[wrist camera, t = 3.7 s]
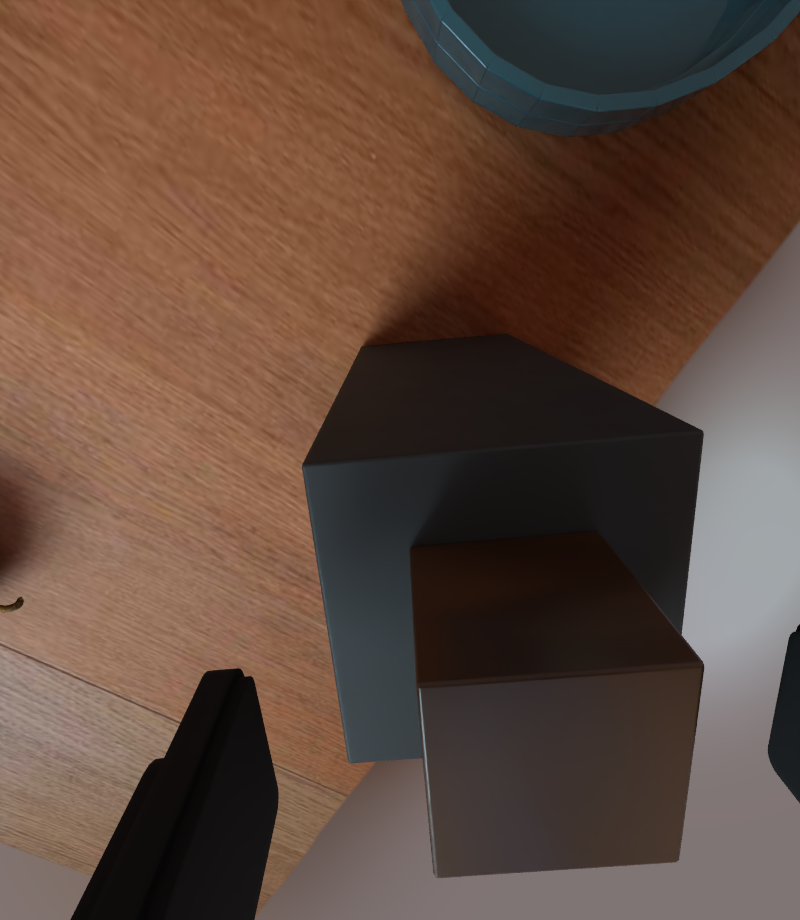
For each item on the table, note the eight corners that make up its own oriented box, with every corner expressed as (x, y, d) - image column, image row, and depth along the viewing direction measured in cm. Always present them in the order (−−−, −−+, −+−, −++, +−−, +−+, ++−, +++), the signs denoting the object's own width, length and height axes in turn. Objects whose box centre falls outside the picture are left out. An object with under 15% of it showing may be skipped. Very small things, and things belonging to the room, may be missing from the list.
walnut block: (599, 530, 11) (707, 664, 7) (592, 683, 12) (681, 864, 8) (408, 545, 11) (415, 685, 7) (422, 695, 12) (434, 880, 9)
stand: (508, 333, 28) (706, 430, 10) (510, 471, 31) (670, 741, 13) (360, 346, 28) (300, 464, 10) (375, 482, 31) (347, 765, 13)
